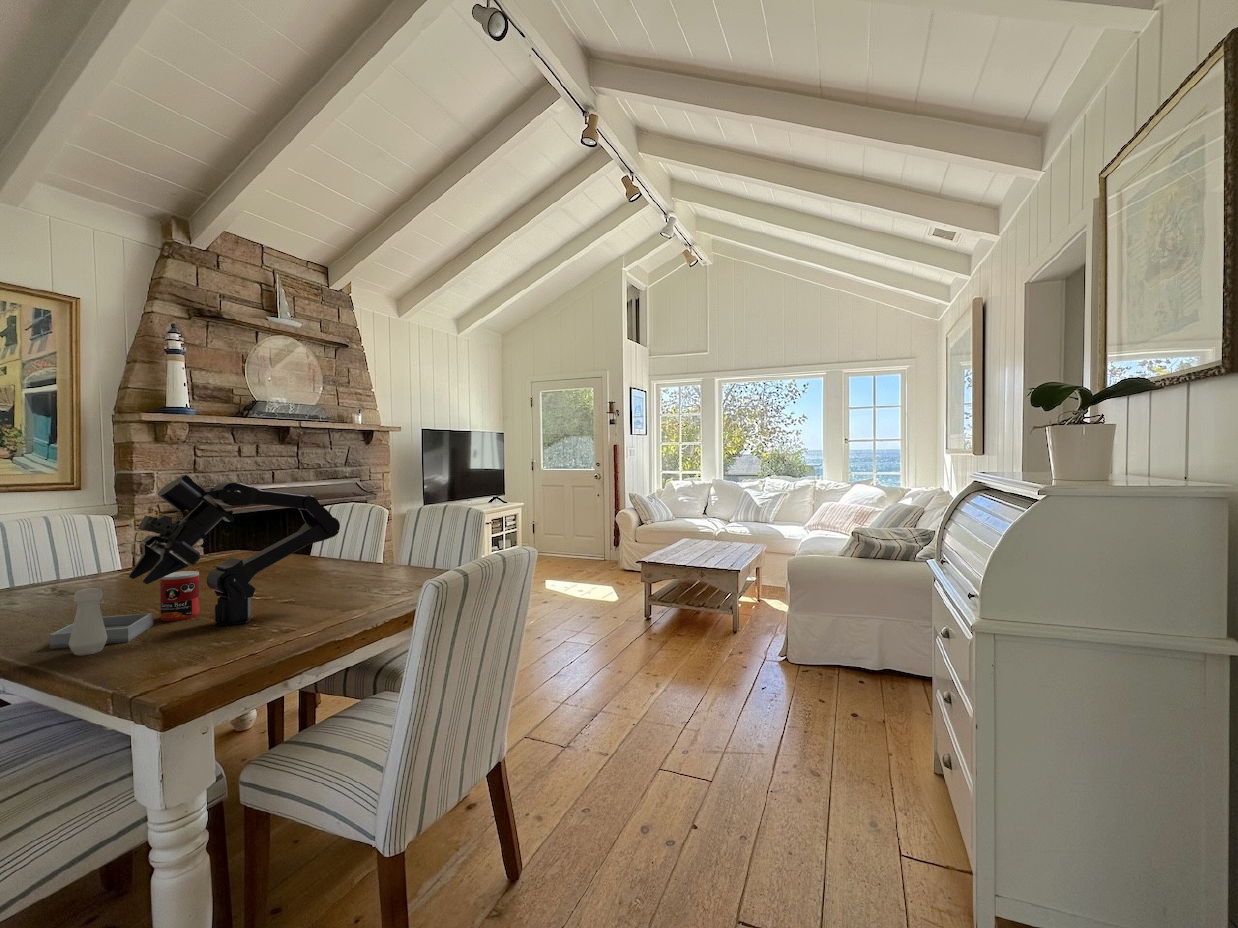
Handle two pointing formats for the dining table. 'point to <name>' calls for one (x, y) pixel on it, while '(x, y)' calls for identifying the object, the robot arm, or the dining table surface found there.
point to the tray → (109, 629)
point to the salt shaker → (88, 623)
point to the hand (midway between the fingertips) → (137, 580)
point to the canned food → (179, 596)
